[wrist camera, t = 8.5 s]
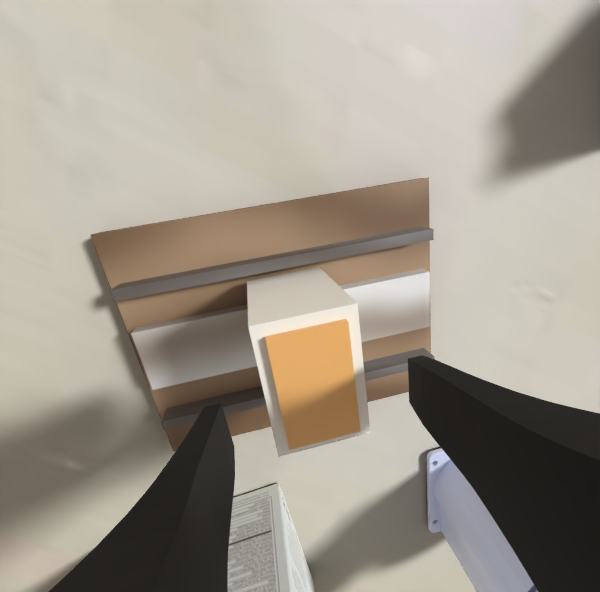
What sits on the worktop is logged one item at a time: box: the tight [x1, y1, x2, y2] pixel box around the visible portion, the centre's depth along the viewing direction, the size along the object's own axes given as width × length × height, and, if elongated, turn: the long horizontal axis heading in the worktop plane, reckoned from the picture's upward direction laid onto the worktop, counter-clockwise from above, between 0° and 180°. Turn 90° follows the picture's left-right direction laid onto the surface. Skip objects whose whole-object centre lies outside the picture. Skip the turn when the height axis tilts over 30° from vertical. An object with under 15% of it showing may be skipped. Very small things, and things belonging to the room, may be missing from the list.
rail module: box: [247, 267, 370, 456], centre depth 14 cm, size 6×4×6 cm, turn 9°
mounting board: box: [91, 178, 434, 451], centre depth 18 cm, size 14×18×2 cm
